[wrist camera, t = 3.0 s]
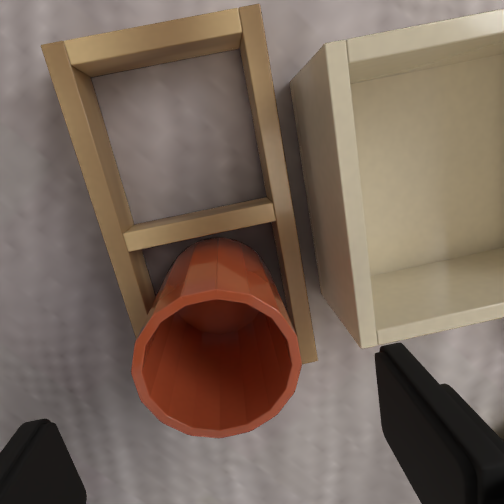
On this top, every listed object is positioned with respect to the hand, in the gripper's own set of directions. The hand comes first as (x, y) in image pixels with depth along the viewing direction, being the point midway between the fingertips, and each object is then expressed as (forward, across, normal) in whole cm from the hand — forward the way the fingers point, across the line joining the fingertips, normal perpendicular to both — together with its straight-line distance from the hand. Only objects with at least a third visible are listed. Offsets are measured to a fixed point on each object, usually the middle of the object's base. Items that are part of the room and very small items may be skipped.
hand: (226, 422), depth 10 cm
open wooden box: (+12, -12, -4) cm, 17 cm away
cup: (+12, 0, +1) cm, 12 cm away
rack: (+12, 0, -4) cm, 12 cm away
